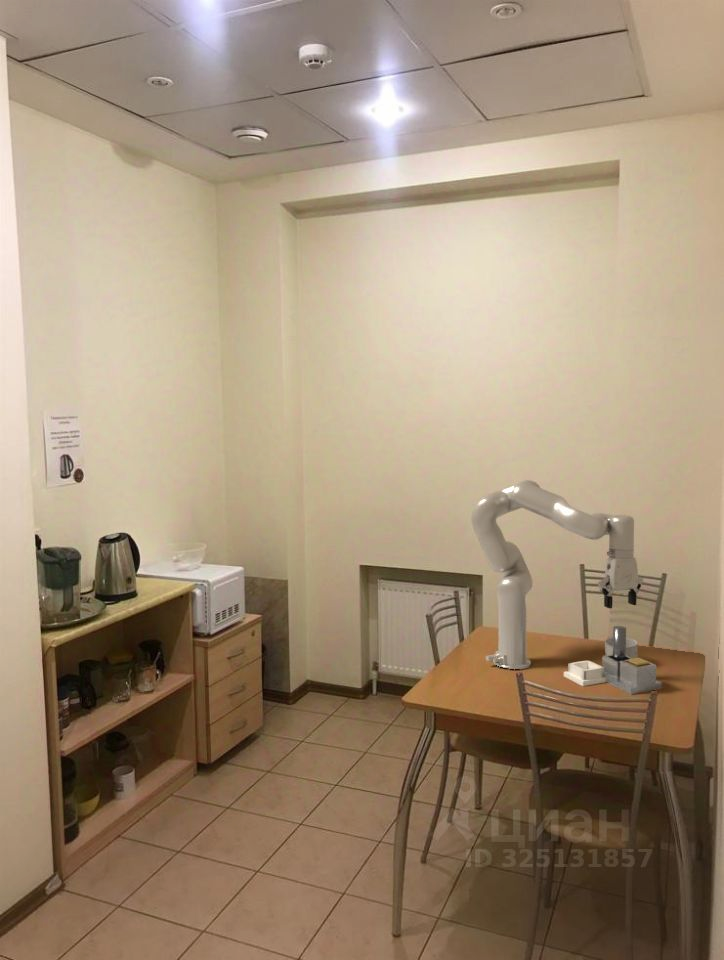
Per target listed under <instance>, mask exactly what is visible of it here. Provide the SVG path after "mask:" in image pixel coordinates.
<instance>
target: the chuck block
mask: <svg viewBox="0 0 724 960" xmlns="http://www.w3.org/2000/svg"><path fill="white" fill-rule="evenodd" d="M628 659H633V658H631V657H629V656H627V655H626V660H623V661H616V660H614V659H613V654H611V655H606V654H605V655H602V661H601V662H602V664H601V665H602V667H604V677H606V682H605V683H607V684H609V685H610V686H612V687H614V688H617V689H618V690H621V691H622V692H625V693H627V694H629V695H636V694H637V695H638V694H642V693H645V692H646V693H648V692H652V690H653V691H656V690H655V689H658V690H660V689H659V688H661V689H662V686H663V685H662V682H661V681H659V680H657V665H656V664H654V663H652V662H650V661H648V662H649V665H645V666H639V667H636V666H634V665H632V664H630V663H628Z"/></svg>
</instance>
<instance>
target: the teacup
mask: <svg viewBox="0 0 724 960" xmlns="http://www.w3.org/2000/svg"><path fill="white" fill-rule="evenodd" d="M638 645H639V644H638V641H637V640H635V639H633V638H631V637H626V655H627V656H629V657H631V658H638ZM604 652H605V655H611V654H613V635H611V636H610V635H609V636H608V637H607V638H606V639H604Z"/></svg>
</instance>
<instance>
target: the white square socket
mask: <svg viewBox="0 0 724 960" xmlns="http://www.w3.org/2000/svg"><path fill="white" fill-rule="evenodd" d="M567 665H568V666H567V671H563V677H564V678H566V679H568V680H570V681H572V682H574V683H576V684H578V685H580V686H581V687H586V686H587V687H588V686H592V685H598V684H602V683H603V684H604V683H606V677H604V667H602V666H601V665H600V664H597V663H595V662H593V661H590V660H588V659H587V660H582V661H575V662H569V663H568V664H567Z"/></svg>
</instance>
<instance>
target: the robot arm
mask: <svg viewBox="0 0 724 960" xmlns="http://www.w3.org/2000/svg"><path fill="white" fill-rule="evenodd" d="M519 509H520V510H521V509H524V510H526V511H529V512H532V513H533V514H536V515H538V516H541V517H543V518H546V519H547V520H550V521H552V522H554V523H555V524H556V525H558V526H560V527H561V528H563V529H564V530H565V529H566V530H567V531H569V532H570V533H571V532H572V533H574V534H576V535H578V536H580V537H583V538H585V539H589V540H593V541H594V540H600V539H602V538H603V537H604V536H608V537H609V538H608V551H607V552H606V554H607V556H608V557H607V559H606V565H605V572H604V577H603V578H602V579H601V580H600V581H598V582H597V585H598V588H599V591H600V592H601V593H602V595H603V607H604V608H607V609H612V608H613V596H612V594H613V592H614V591H626V590H629V591H628V592H627V603H628V604H629V605H633V606H637V595H638V594H637V593H639V590H640V588H642V584H643V581H644V578H643V577H641V576H639V571H638V570H639V569H638V564H637V559H636V557H634V555H635V554H634V551H635V549H634V548H635V547H634V546H635V519H634V518H633V516H630V515H626V514H617V515H615V514H614V515H613V514H608V513H602V512H596V513H595V512H594V513H592V514H589V513H586V512H584V511H582V510H579V509H578V508H576V507H574V506H572V505H570V503H568V501H567V500H566V499H565V498H564V496H563V497H562V496H561V495H558V494H556V493H553V492H552V491H550V490H549V491H548V490H547V489H543V488H542V487H541V486H540V485H539V484H538V483H537V482H536V481H533V480H531V479H529V480H527V479H525V480H523V481H520V482H518V483H516V484H513V485H511V486H508V487H504V488H503V489H500V490H497V491H494V492H492V493H488V494H487V495H483V496H482V497H481V498H480V499H479V500H478V501H477V502H476V504H475V505H474V507H473V509H472V511H471V517H470V519H471V524H472V527H473V530H474V533H475V535H476V537H477V540H478V542H479V545H480V547H481V550H482V552H483V554H484V557H485V559H486V562H487V564H488V566H489V568H490V569H491V570H492V571H493V572H495V573H499V574H500V573H501V575H502V577H501V579H500V580H499V582H498V584H497V587H496V599H497V608H498V609H497V610H498V611H497V612H498V617H497V618H498V635H497V636H498V637H497V639H498V645H497V646H498V649H497V650H495V653H493V654H490V655H489V654H488V655H486V656H485V661H487V662H491V661H493V664H494V665H495V666H496V665H497V666H496V667H498V666H499V667H498V668H500V667H503V668H509V669H508V670H510V669H514V671H516V670H515V669H520V670H525V669H529V668H530V667H531V664H532V662H531V660H530V659H529V658H527V603H526V596H527V595H528V594H529V593H530V591H531V590H532V588H533V578H532V575H531V573H530V569H528V566H527V564H526V562H525V561H526V560H525V558H524V556H523V554H522V552H521V551H520V549H519V547H518V546H517V545H516V544H515V543H514V542H511V541H509V540H508V541H507V540H506V539H505V536H504V534H503V531H502V530H501V527H500V526H499V525H498V522H497V519H498V518H499V517H502V516H504V515H506V514H508V513H511V512H514V511H517V510H519ZM503 668H502V669H503Z"/></svg>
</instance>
